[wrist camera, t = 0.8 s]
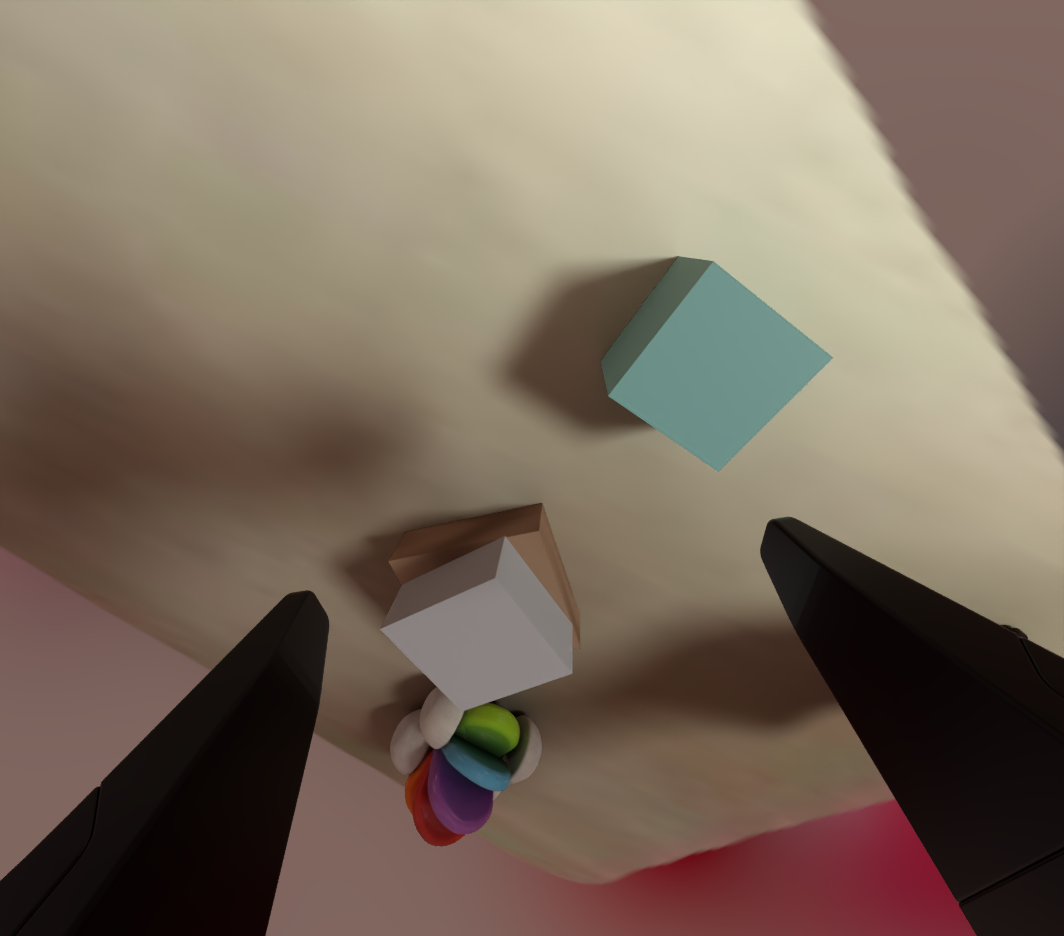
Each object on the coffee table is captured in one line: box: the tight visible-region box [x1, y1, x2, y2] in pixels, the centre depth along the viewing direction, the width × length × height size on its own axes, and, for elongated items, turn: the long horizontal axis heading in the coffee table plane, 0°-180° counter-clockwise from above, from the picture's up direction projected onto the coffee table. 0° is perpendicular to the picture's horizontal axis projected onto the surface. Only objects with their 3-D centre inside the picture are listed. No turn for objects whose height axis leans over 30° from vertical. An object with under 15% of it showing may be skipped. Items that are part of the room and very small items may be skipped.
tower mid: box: [380, 536, 573, 711], centre depth 22 cm, size 6×6×3 cm
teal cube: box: [600, 256, 833, 472], centre depth 17 cm, size 5×5×5 cm
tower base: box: [388, 503, 580, 650], centre depth 25 cm, size 8×8×3 cm
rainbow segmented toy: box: [390, 687, 542, 846], centre depth 29 cm, size 8×10×7 cm
